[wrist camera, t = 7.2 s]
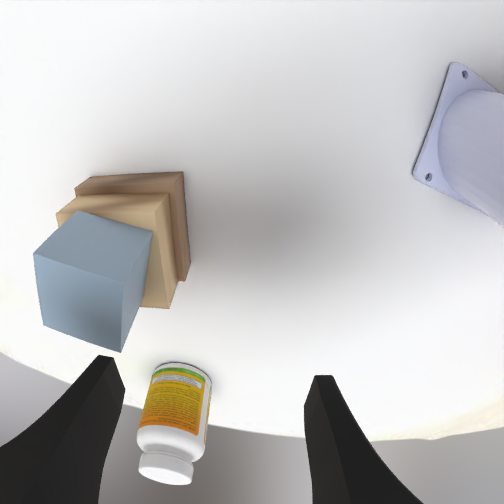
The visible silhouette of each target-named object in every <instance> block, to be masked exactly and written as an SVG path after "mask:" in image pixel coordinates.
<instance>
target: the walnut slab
mask: <svg viewBox="0 0 504 504" xmlns="http://www.w3.org/2000/svg"><path fill="white" fill-rule="evenodd" d="M75 193H76V197H77V196H85V195H105V194H131V193H169V202H170V213H171V223H172V233H173V242H174V251H175V259H176V267H177V275H178V281H185V280H186V277H187V274H188V270H189V267H190V264H191V260H190V251H189V240H188V230H187V219H186V207H185V194H184V180H183V172H161V173H141V174H125V175H111V176H98V177H90V178H88V179H87V180H85V181H84V182H83V183H81V184H80V185H78V186H77V187H76V188H75Z"/></svg>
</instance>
